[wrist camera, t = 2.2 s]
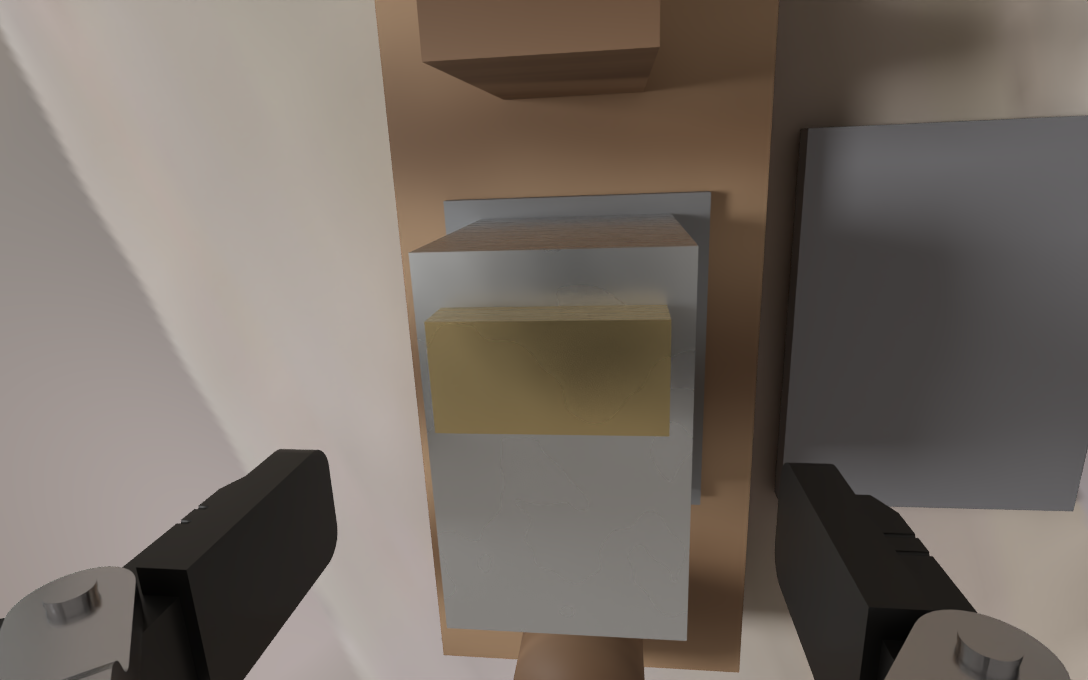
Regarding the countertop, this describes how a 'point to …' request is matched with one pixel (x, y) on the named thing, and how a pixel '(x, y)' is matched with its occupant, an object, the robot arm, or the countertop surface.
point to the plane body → (605, 189)
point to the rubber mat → (941, 312)
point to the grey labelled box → (561, 421)
